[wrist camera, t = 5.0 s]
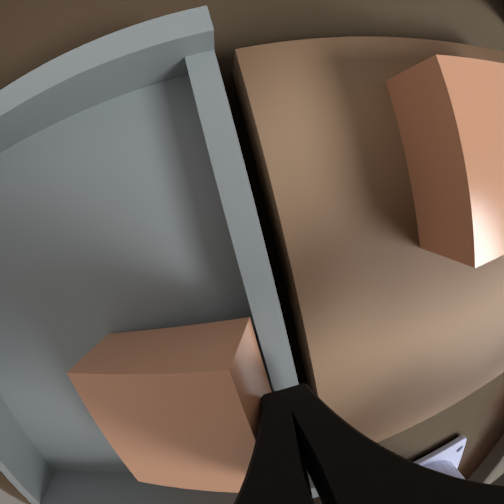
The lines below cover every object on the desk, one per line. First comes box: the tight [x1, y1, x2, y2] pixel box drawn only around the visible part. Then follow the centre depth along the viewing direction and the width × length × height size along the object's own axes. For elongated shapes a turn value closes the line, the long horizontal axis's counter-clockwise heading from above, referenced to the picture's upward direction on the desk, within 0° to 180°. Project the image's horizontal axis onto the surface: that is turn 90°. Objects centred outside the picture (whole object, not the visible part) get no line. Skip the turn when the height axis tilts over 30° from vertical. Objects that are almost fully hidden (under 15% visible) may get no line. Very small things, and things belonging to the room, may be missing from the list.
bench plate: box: [232, 37, 504, 443], centre depth 10 cm, size 14×12×2 cm
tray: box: [0, 6, 319, 504], centre depth 9 cm, size 16×14×3 cm
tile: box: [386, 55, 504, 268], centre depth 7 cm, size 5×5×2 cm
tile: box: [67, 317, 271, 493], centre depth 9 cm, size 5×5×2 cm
